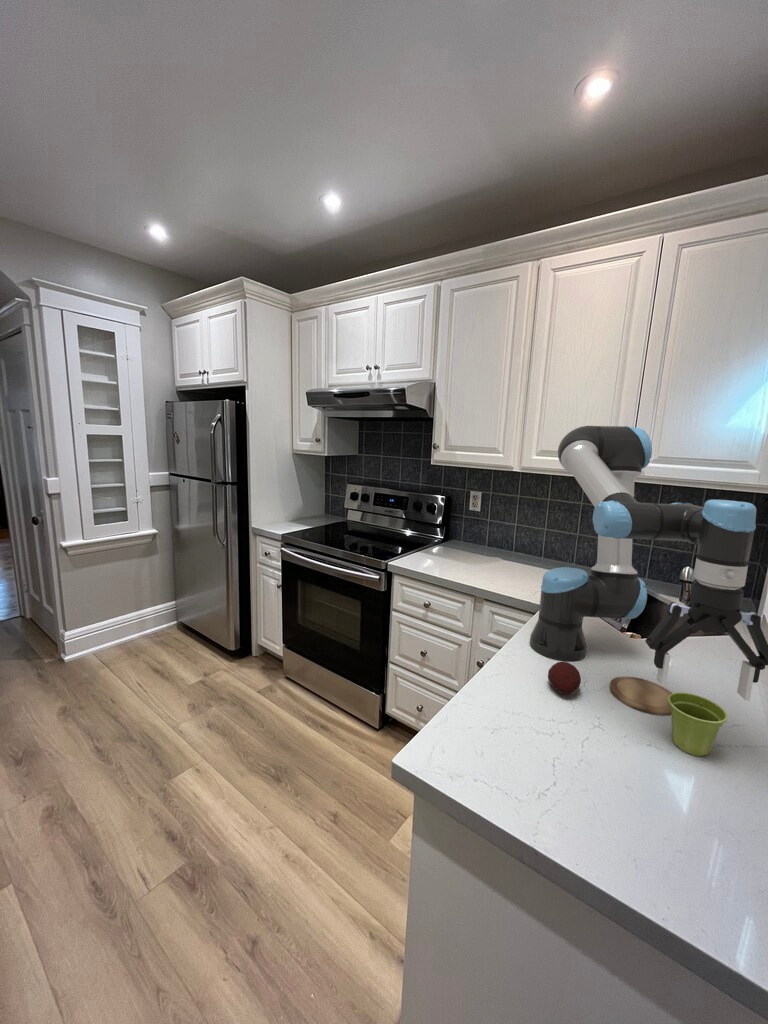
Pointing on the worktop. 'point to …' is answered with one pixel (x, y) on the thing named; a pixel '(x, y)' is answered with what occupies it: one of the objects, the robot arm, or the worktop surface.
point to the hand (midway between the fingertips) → (701, 689)
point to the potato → (564, 677)
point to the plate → (641, 695)
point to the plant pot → (695, 722)
